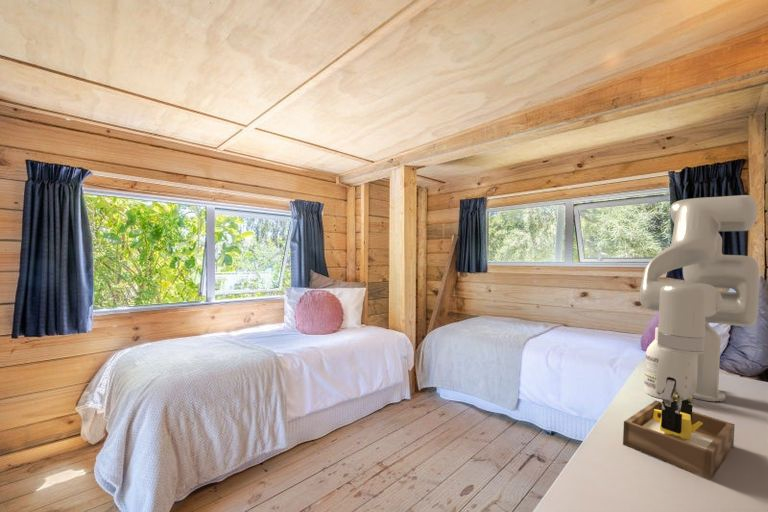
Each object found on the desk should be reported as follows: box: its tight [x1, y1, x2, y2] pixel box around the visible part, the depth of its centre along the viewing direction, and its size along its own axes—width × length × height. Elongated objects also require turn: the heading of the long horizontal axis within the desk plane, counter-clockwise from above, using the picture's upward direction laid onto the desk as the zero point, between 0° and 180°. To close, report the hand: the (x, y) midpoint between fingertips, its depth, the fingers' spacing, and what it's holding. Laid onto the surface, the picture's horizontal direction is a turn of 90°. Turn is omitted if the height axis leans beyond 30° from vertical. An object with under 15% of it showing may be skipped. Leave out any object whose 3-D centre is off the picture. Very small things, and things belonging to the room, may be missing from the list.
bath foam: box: [643, 326, 675, 400], centre depth 103 cm, size 7×7×20 cm
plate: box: [643, 419, 714, 449], centre depth 74 cm, size 9×11×2 cm
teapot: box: [653, 409, 703, 440], centre depth 74 cm, size 8×6×5 cm
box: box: [622, 400, 735, 481], centre depth 75 cm, size 20×14×5 cm
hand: (676, 424), depth 74 cm, fingers open, 6 cm apart
